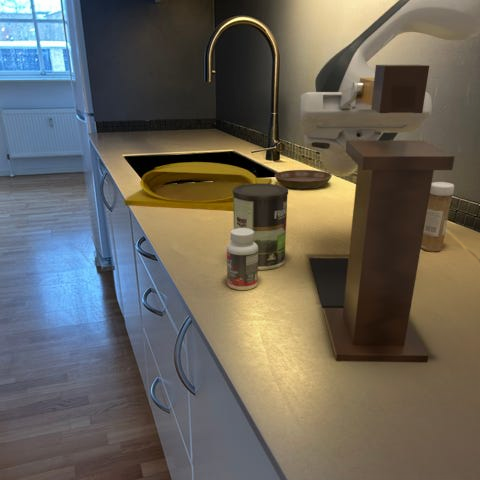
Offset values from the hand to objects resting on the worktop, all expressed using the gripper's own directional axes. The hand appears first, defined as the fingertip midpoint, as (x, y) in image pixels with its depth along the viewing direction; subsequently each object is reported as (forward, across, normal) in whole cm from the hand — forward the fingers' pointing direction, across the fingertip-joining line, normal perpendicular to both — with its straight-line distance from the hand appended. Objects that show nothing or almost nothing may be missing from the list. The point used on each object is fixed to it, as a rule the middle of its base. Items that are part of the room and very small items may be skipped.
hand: (374, 87), depth 73 cm
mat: (-19, 0, -26) cm, 32 cm away
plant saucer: (-87, +2, +13) cm, 88 cm away
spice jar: (-35, -20, -17) cm, 44 cm away
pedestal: (-2, 0, -36) cm, 36 cm away
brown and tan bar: (+4, 0, -5) cm, 7 cm away
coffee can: (-28, +16, -21) cm, 39 cm away
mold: (-77, +32, +7) cm, 83 cm away
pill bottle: (-18, +19, -27) cm, 37 cm away
